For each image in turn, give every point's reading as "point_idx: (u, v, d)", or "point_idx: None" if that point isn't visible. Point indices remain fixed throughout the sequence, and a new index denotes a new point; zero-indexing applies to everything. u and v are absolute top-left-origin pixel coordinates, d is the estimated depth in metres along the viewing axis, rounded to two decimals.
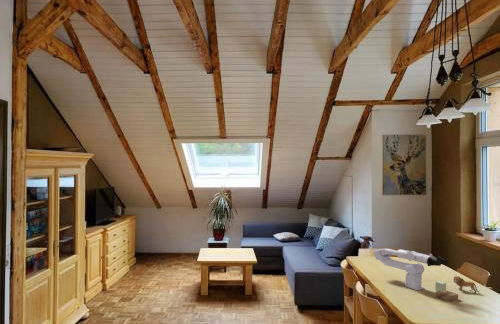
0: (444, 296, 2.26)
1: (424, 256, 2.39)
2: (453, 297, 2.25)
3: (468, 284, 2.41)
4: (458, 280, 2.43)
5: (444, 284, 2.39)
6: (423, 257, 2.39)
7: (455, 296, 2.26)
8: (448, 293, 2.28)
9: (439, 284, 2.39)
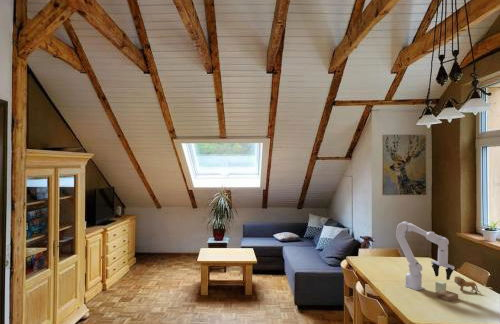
0: (444, 296, 2.26)
1: None
2: (453, 297, 2.25)
3: (469, 284, 2.40)
4: (459, 280, 2.43)
5: (444, 284, 2.39)
6: (447, 259, 2.36)
7: (455, 296, 2.26)
8: (448, 293, 2.28)
9: (439, 284, 2.39)
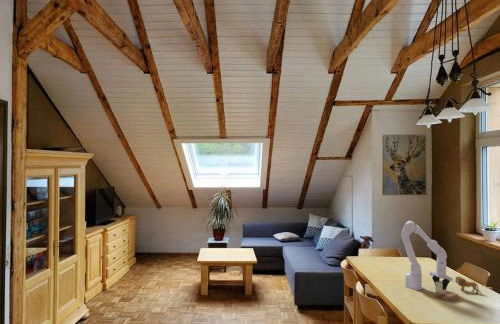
0: (444, 296, 2.26)
1: None
2: (453, 297, 2.25)
3: (470, 284, 2.40)
4: (460, 280, 2.42)
5: None
6: None
7: (455, 296, 2.26)
8: (448, 293, 2.28)
9: (439, 284, 2.39)
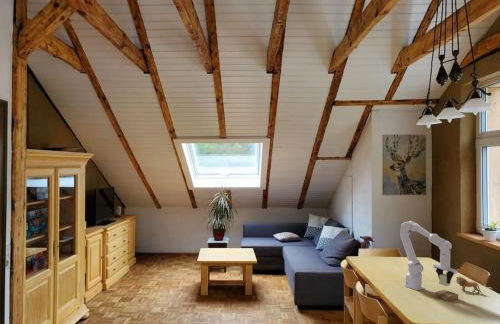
0: (444, 296, 2.26)
1: None
2: (453, 297, 2.25)
3: (471, 284, 2.40)
4: (461, 280, 2.42)
5: None
6: None
7: (455, 296, 2.26)
8: (448, 293, 2.28)
9: (443, 277, 2.32)
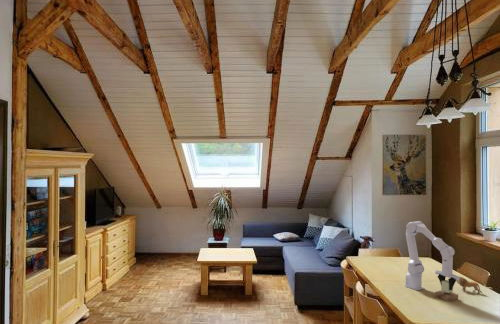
0: (444, 296, 2.26)
1: None
2: (453, 297, 2.25)
3: (471, 285, 2.40)
4: (461, 281, 2.42)
5: None
6: (452, 269, 2.27)
7: (455, 296, 2.26)
8: (448, 293, 2.28)
9: (445, 283, 2.27)
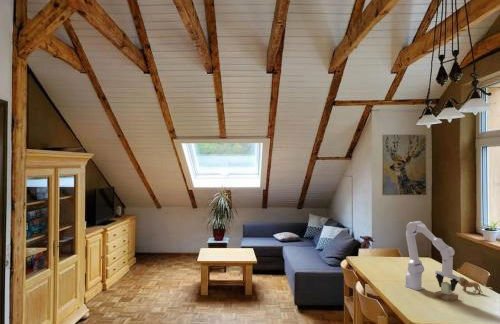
0: (444, 296, 2.26)
1: None
2: (453, 297, 2.25)
3: (472, 285, 2.40)
4: (462, 281, 2.42)
5: (450, 285, 2.27)
6: (452, 269, 2.27)
7: (455, 296, 2.26)
8: None
9: (445, 285, 2.27)
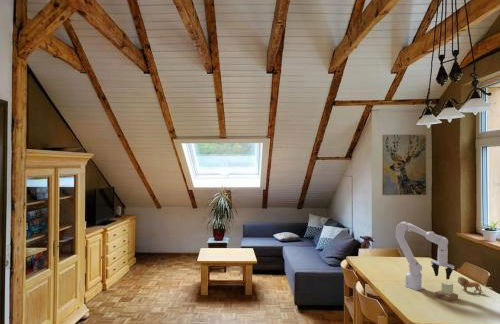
0: (443, 296, 2.26)
1: None
2: (452, 297, 2.25)
3: (473, 285, 2.39)
4: (463, 281, 2.41)
5: (451, 285, 2.27)
6: (447, 259, 2.36)
7: (455, 296, 2.26)
8: None
9: (445, 285, 2.28)
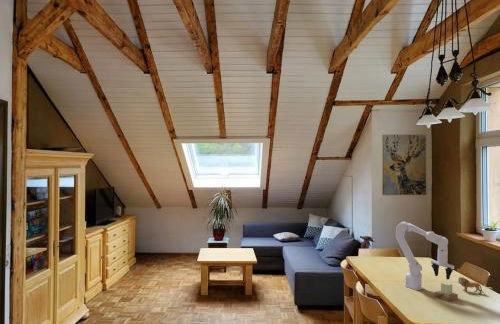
0: (443, 296, 2.26)
1: None
2: (452, 297, 2.25)
3: (473, 285, 2.39)
4: (463, 281, 2.41)
5: (450, 285, 2.27)
6: (447, 259, 2.36)
7: (455, 296, 2.26)
8: None
9: (445, 285, 2.27)
